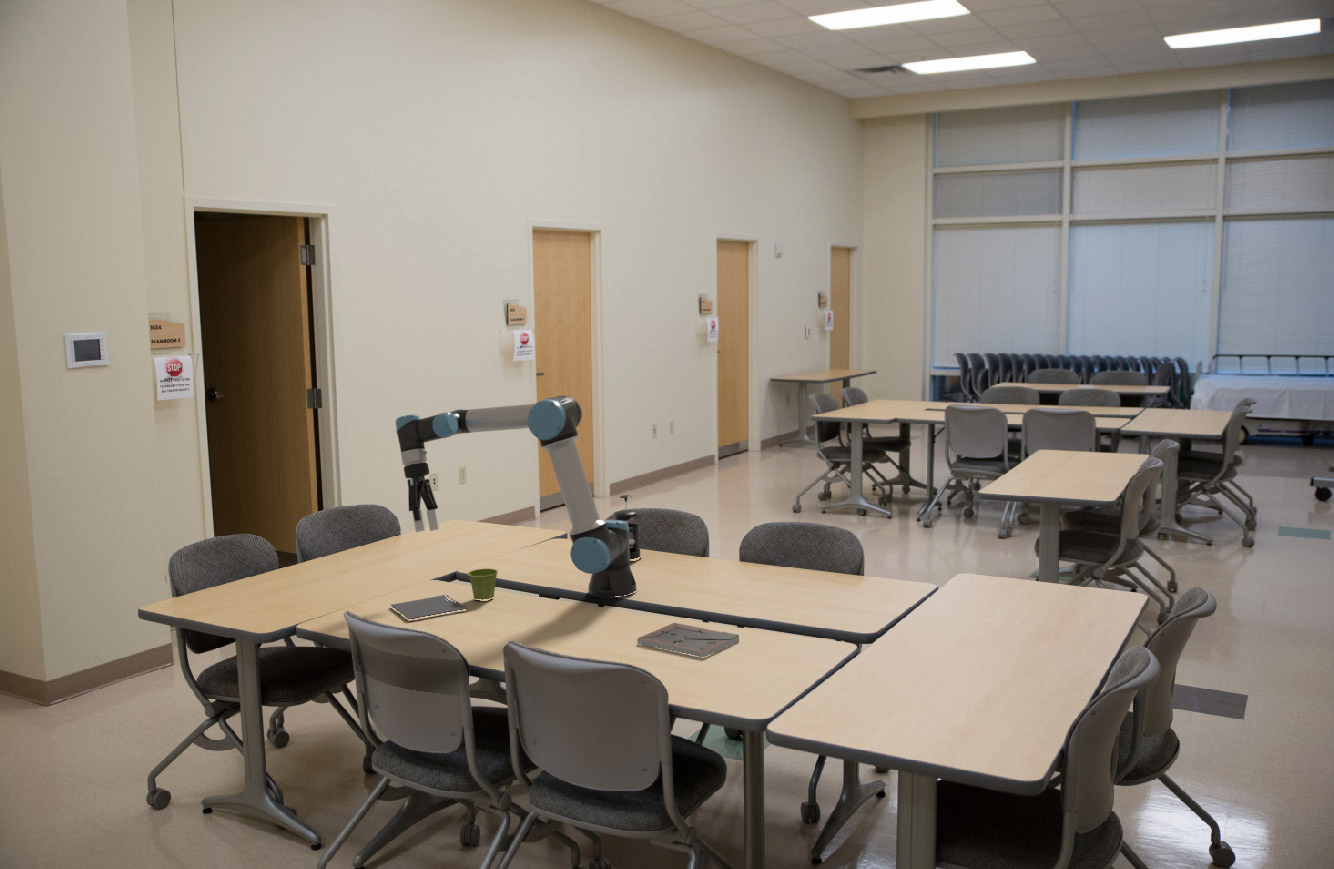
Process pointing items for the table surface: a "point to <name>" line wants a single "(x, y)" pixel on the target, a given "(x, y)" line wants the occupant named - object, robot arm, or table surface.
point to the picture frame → (688, 639)
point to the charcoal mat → (427, 607)
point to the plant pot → (483, 582)
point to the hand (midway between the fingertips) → (427, 530)
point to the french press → (626, 516)
